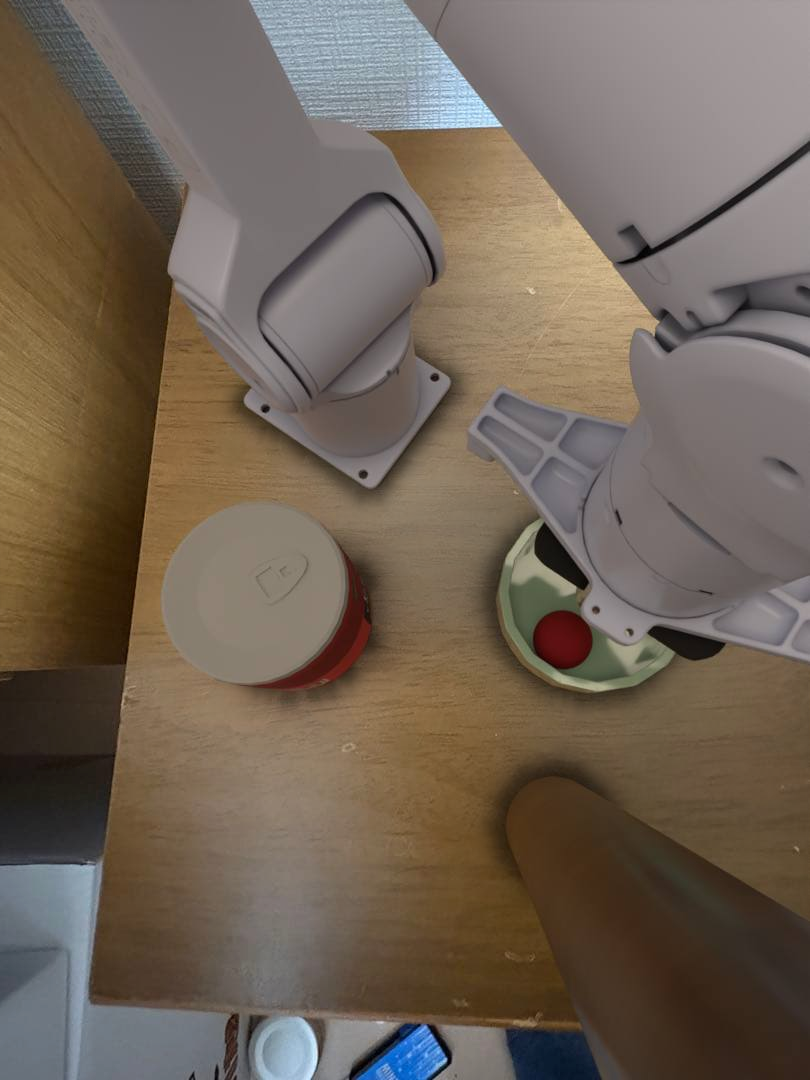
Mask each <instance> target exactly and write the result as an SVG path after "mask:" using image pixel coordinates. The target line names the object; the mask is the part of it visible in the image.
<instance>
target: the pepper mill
mask: <svg viewBox="0 0 810 1080" xmlns="http://www.w3.org/2000/svg"><path fill="white" fill-rule="evenodd" d="M505 832H506V838H507V842H508V844H509V847H510V850H511V852H512V855H513V857H514V859H515V862H516V865H517V867H518V870H519V872H520V875H521V878H522V880H523V883H524V885H525V888H526V890H527V893H528V895H529V898H530V901H531V903H532V905H533V908H534V910H535V913H536V916H537V918H538V921H539V924H540V926H541V928H542V930H543V933H544V935H545V939H546V941H547V944H548V946H549V949H550V951H551V954H552V956H553V958H554V961H555V964H556V966H557V969H558V971H559V974H560V976H561V979H562V982H563V984H564V987H565V989H566V992H567V994H568V997H569V999H570V1002H571V1005H572V1007H573V1009H574V1012H575V1014H576V1017H577V1020H578V1022H579V1025H580V1028H581V1031H582V1033H583V1035H584V1037H585V1040H586V1043H587V1045H588V1047H589V1051H590V1052H591V1053H590V1054H591V1055H592V1058H593V1060H594V1063H595V1065H596V1068H597V1070H598V1073H599V1075H600V1078H601V1080H810V921H809V920H808V919H806V918H804V917H803V916H801V915H800V914H797V913H796V912H794V911H793V910H791V909H789V908H788V907H786V906H784V905H783V904H782V903H779V901H776V900H775V899H773V898H771V897H769V896H768V895H766V894H764V893H763V892H761V891H759V890H757V889H756V888H754V887H753V886H751V885H749V884H748V883H746V882H745V881H742V880H741V879H739V878H737V877H736V876H734V875H733V874H731V873H729V872H728V871H726V870H724V869H723V868H721V867H719V866H717V865H716V864H714V863H712V862H711V861H709V860H707V859H706V858H704V857H703V856H701V855H700V854H697V853H696V852H694V851H693V850H691V849H689V848H688V847H686V846H684V845H682V844H681V843H679V842H677V841H676V840H674V839H672V838H671V837H669V836H668V835H665V834H664V833H662V832H661V831H659V830H657V829H656V828H654V827H653V826H651V825H649V824H647V823H646V822H644V821H642V820H641V819H639V818H637V817H636V816H634V815H632V814H631V813H630V812H628V811H626V810H624V809H623V808H621V807H619V806H618V805H615V804H614V803H612V802H611V801H610V800H607V799H606V798H604V797H603V796H600V794H597V792H596V793H595V792H594V791H592V790H591V789H589V788H587V787H586V786H584V785H582V784H580V783H579V782H577V781H575V780H574V779H571V778H567V777H563V776H558V775H557V776H556V775H551V776H549V775H548V776H543V777H539V778H536V779H534V780H531V781H530V782H528V783H527V784H525V785H524V786H522V788H521V789H519V790H518V792H517V793H516V794H515V795H514V797H513V798H512V800H511V802H510V804H509V807H508V810H507V814H506V819H505Z"/></svg>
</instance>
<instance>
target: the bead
mask: <svg viewBox="0 0 810 1080" xmlns="http://www.w3.org/2000/svg"><path fill="white" fill-rule="evenodd" d="M533 645H534V649H535V651H536V653H537V655H538V657H539V658H540V659H542V660H543V661H545V662H546V663H548V664H549V665H551V666H552V667H554V668H556V669H571V668H574V667H577V666H578V665H580V664H581V663H583V662H584V661H585V660H586V659H587V657H588V656H589V654H590V652H591V649H592V645H593V637H592V632H591V629H590V627H589V625H588V624H587V623H586V621H585V620H584V619H583V618H582V617H581V616H579V615H578V614H576V613H574V612H571V611H566V610H558V611H553V612H551V613H548V614H547V615H545V616H544V617H543V618H541V619H540V621H539V622H538V623H537V625H536V627H535V629H534V633H533Z"/></svg>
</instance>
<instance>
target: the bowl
mask: <svg viewBox="0 0 810 1080" xmlns="http://www.w3.org/2000/svg"><path fill="white" fill-rule="evenodd" d="M543 523H544V520H543V519H542V518H541V517H539V518H538V519H536V520H534V521H532V522H531V523H530V524H528V525H527V526H526V527H525V528H524V529H523V530H522V532H521V534H519V536H518V538H517V539H516V541H515V542H514V543H513V545H512V546H511V548H510V549H509V551H508V552H507V553H506V554H505V558H504V561H503V563H502V567H501V571H500V576H499V581H498V586H497V591H496V594H495V605H496V611H497V617H498V618H497V619H498V623H499V626H500V631H501V635H502V637H503V638H504V640H505V642H506V644H507V645H508V648H509V649H510V650H511V652H512V653H513V655H514V656H515V658H516V659H517V660H518V661H519V662H520V664H521V665H522V666H523V667H524V668H526V669H527V670H528V671H529V672H531V673H532V674H533V675H535V676H536V677H538V678H539V679H541V680H543V681H544V682H546V683H548V684H549V685H550V686H553V687H557V688H562V689H565V690H568V691H573V692H578V693H579V692H580V693H583V694H595V693H602V692H603V693H604V692H607V691H613V690H620V689H627V688H631V687H635V686H638V685H639V684H640V683H641V684H642V683H643V682H644V681H646V680H647V679H648V678H650V677H651V676H653V675H654V674H657V673H658V672H659V671H661V670H662V669H664V668H666V667H667V666H668V665H669V664H670V662H671V661H672V659H673V657H674V656H675V654H676V653H675V652H674V651H672V650H671V649H669V648H668V647H666V646H665V645H663V644H662V643H660V642H659V641H657V640H656V639H654V638H653V637H651V636H650V635H648V634H646V635H645V637H644V638H643V639H642V640H641V641H640V642H639V643H638V644H635V645H631V646H626V647H625V646H622V645H619V644H617V643H615V642H614V641H612V640H611V639H609V638H608V637H607V636H605V635H604V634H602V633H601V632H599V631H598V630H596V629H595V628H593V627H592V626H590V625H589V624H588V625H589V627H590V629H591V632H592V637H593V645H592V649H591V652H590V654H589V656H588V657H587V659H586V660H585V661H584V662H583V663H581V664H580V665H578V666H577V667H574V668H571V669H556V668H554V667H552V666H551V665H549V664H548V663H546V662H545V661H543V660H542V659H540V658H539V657H538V655H537V653H536V651H535V649H534V645H533V633H534V629H535V627H536V625H537V623H538V622H539V621H540V619H541V618H543V617H544V616H545V615H547V614H548V613H551V612H553V611H558V610H566V611H571V612H574V613H576V614H578V615H579V616H581V611H580V608H581V607H580V606H579V605H578V603H577V600H576V595H575V593H576V588H577V587H576V586H575V585H573V584H572V583H570V582H569V581H567V580H566V579H564V578H563V577H561V576H560V575H558V574H557V573H555V572H554V571H552V570H551V569H549V568H548V567H546V566H545V565H544V564H542V563H541V562H540V561H539V559H538V558H537V557H536V555H535V554H534V543H535V538H536V535H537V532H538V530H539V529H540V527H541V526H542V524H543ZM581 617H582V616H581ZM626 635H627V636H629V632H628V631H626Z"/></svg>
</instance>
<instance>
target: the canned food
mask: <svg viewBox="0 0 810 1080" xmlns="http://www.w3.org/2000/svg"><path fill="white" fill-rule="evenodd" d="M160 591H161V592H160V613H161V616H162V621H163V625H164V630H165V631H166V634H167V636H168V638H169V640H170V642H171V645H172V646H173V647H174V649H175V650H176V651H177V652H178V653H179V655H180V656H181V658H182V659H183V660H184V661H186V663H188V664H189V665H191V667H193V668H194V669H195V670H197V671H198V672H200V673H202V674H204V675H206V676H207V677H210V678H211V679H214V680H216V681H219V682H222V683H227V684H229V685H233V686H235V685H236V686H239V687H250V688H259V689H268V690H269V689H270V690H278V691H294V692H299V691H306V690H308V691H309V690H313V689H316V688H319V687H321V686H325V685H327V684H329V683H330V682H332V681H334V680H336V679H337V678H339V677H341V676H342V675H343V674H344V673H345V672H347V671H348V669H350V668H351V666H353V664H354V663H355V662H356V661H357V660H358V658H359V657H360V655H361V654H362V652H363V650H364V648H365V646H366V644H367V642H368V639H369V636H370V633H371V630H372V622H373V603H372V598H371V595H370V592H369V588H368V586H367V584H366V582H365V581H364V579H363V577H362V575H361V573H360V572H359V571H358V568H356V566H355V565H354V563H353V562H352V560H351V559H350V558H349V556H348V555H347V553H346V552H345V550H344V548H343V547H342V545H341V544H340V542H339V541H338V540H337V539H336V538H335V537H334V536H333V534H332V533H331V532H330V531H329V530H328V529H327V527H326V526H325V525H323V523H321V522H320V521H319V520H318V519H316V518H315V517H314V516H312V515H310V514H309V513H307V512H305V511H303V510H301V509H299V508H297V507H295V506H293V505H289V504H285V503H282V502H277V501H266V500H265V501H262V500H255V501H247V502H242V503H241V502H240V503H237V504H234V505H232V506H228V507H226V508H223V509H221V510H219V511H217V512H215V513H214V514H212V515H210V516H207V517H206V518H205V519H204V520H202V521H201V522H200V523H199V524H197V525H196V526H195V527H194V528H192V529H191V530H190V531H189V532H188V534H187V535H186V536H185V537H184V538H183V539H182V541H181V542H180V543H179V545H178V546H177V547H176V549H175V551H174V552H173V554H172V556H171V557H170V559H169V562H168V564H167V567H166V570H165V572H164V575H163V580H162V585H161V590H160Z"/></svg>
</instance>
